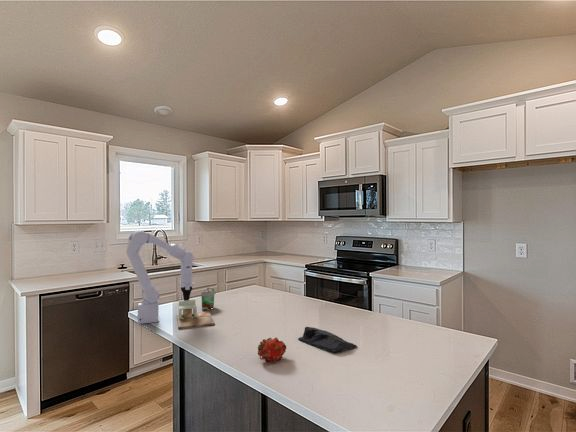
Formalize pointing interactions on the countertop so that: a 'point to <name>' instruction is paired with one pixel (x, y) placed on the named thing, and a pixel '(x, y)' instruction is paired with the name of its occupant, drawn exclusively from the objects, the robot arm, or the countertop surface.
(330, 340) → the charcoal beanbag
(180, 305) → the sliding cover
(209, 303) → the food container
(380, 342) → the countertop surface
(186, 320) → the puzzle board
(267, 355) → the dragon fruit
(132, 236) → the robot arm
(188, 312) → the maple block
